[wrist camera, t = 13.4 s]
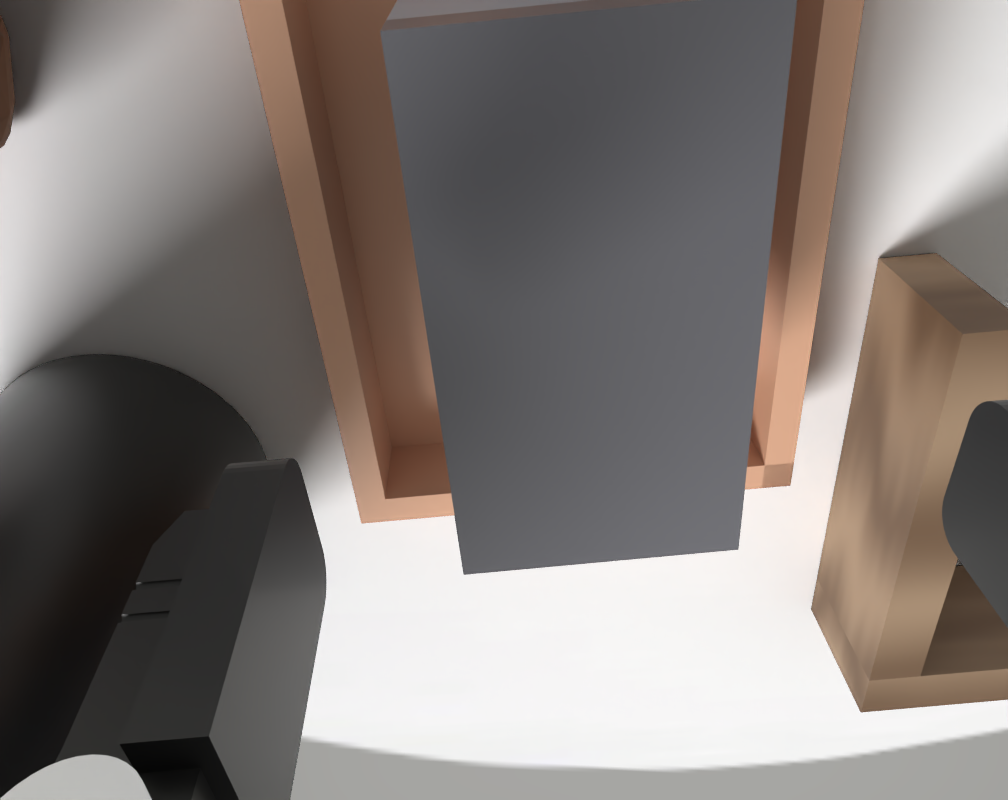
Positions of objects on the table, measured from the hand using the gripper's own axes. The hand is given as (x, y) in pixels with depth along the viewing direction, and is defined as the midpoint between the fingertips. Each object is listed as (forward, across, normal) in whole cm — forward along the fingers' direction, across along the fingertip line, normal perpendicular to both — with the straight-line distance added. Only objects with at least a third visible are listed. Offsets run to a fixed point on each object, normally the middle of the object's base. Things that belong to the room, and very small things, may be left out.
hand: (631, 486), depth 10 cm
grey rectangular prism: (+12, 0, 0) cm, 12 cm away
